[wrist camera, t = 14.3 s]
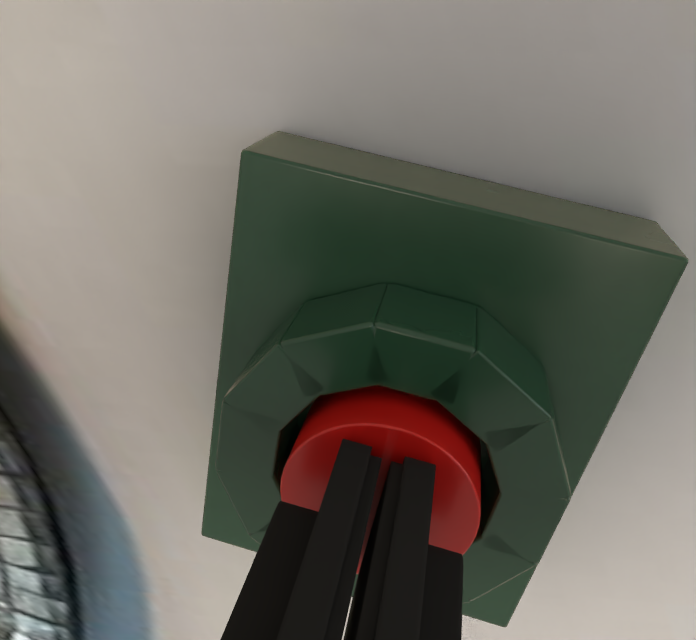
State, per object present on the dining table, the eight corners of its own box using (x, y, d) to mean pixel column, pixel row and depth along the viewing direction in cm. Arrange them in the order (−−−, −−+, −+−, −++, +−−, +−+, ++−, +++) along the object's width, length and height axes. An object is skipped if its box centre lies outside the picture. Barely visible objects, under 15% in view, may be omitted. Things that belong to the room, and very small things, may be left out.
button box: (276, 130, 13) (199, 171, 9) (657, 221, 12) (731, 304, 9) (231, 479, 17) (168, 594, 14) (503, 559, 17) (509, 702, 13)
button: (319, 349, 12) (294, 399, 10) (505, 398, 11) (508, 459, 10) (292, 486, 13) (267, 548, 12) (452, 533, 13) (449, 602, 11)
